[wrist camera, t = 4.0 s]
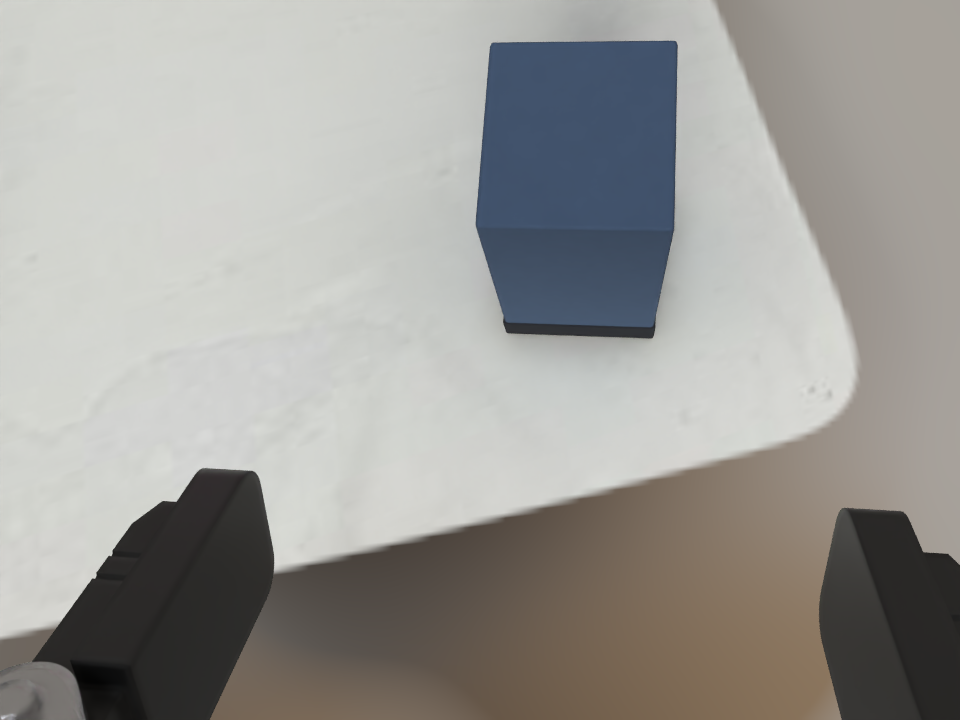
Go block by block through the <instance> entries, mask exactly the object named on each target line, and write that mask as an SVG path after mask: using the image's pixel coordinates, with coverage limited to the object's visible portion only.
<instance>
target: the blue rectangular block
mask: <svg viewBox="0 0 960 720" xmlns="http://www.w3.org/2000/svg"><path fill="white" fill-rule="evenodd" d="M677 49H678V45H677V42H676V41H608V42H510V43H492V44H491V46H490V53H489V66H488V78H487V90H486V103H485V115H484V127H483V139H482V152H481V164H480V176H479V189H478V201H477V213H476V228H477V231H478V234H479V238H480V241H481V244H482V247H483V251H484V254H485V257H486V260H487V264H488V267H489V270H490V273H491V276H492V280H493V283H494V286H495V289H496V293H497V296H498V299H499V302H500V306H501V309H502V312H503V315H504V319H503V323H504V326H505V329H506V332H507V333H517V334H546V335H574V336H603V337H632V338H653V336H654V331H655V320H656V312H657V307H658V302H659V298H660V293H661V288H662V283H663V279H664V274H665V269H666V264H667V260H668V255H669V250H670V246H671V241H672V236H673V231H674V208H675V155H676V102H677Z"/></svg>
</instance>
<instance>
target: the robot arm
mask: <svg viewBox="0 0 960 720" xmlns="http://www.w3.org/2000/svg"><path fill="white" fill-rule="evenodd" d="M273 572H274V552H273V546H272V541H271V536H270V531H269V525H268V520H267V515H266V510H265V504H264V499H263V494H262V489H261V484H260V480H259V477H258V476H257V474H256V473H255V472H253V471H243V470H226V469H209V468H203V469H201V470H199V471H198V472H197V473H196V474H195V476H194V477H193V479H192V480H191V481H190V483H189V484H188V486H187V487H186V489H185V490H184V492H183V493H182V495H181V496H180V498H179V499H178V501H177V502H169V501H162V502H161V503H159V504H158V505H157V506H155V507H154V508H153V509H151V510H150V511H149V512H147V513H146V514H145V515H143V516H142V517H141V518H139V519H138V520H136V521H135V522H134V523H132V525H131V526H130V527H129V529H128V530H127V531H126V533H125V534H124V536H123V537H122V538H121V540H120V541H119V542H118V544H117V545H116V547H115V548H114V549H113V554H112V556H108V558H107V559H106V560H105V562H104V563H103V565H102V566H101V567H100V569H99V570H98V571H97V576H96V579H92V580H91V581H90V583H89V584H88V585H87V587H86V588H85V589H84V591H83V592H82V594H81V595H80V596H79V598H78V599H77V600H76V602H75V603H74V605H73V606H72V607H71V609H70V610H69V612H68V613H67V614H66V616H65V617H64V618H63V620H62V621H61V623H60V624H59V625H58V627H57V628H56V630H55V631H54V632H53V634H52V635H51V636H50V638H49V639H48V641H47V642H46V643H45V645H44V646H43V647H42V649H41V650H40V652H39V653H38V655H37V656H36V657H35V659H34V660H33V661H32V662H29V663H24V664H19V665H16V666H13V667H9V668H7V669H4V670H2V671H0V720H210V718H211V715H212V713H213V711H214V709H215V707H216V705H217V703H218V701H219V698H220V696H221V694H222V692H223V690H224V688H225V686H226V683H227V681H228V679H229V677H230V675H231V673H232V671H233V669H234V666H235V664H236V662H237V660H238V658H239V656H240V654H241V652H242V650H243V647H244V645H245V643H246V641H247V639H248V637H249V635H250V633H251V630H252V628H253V626H254V624H255V622H256V620H257V618H258V616H259V613H260V612H261V609H262V607H263V605H264V603H265V601H266V599H267V596H268V594H269V591H270V588H271V584H272V578H273ZM819 622H820V632H821V639H822V644H823V648H824V652H825V655H826V660H827V664H828V667H829V671H830V675H831V679H832V683H833V686H834V691H835V695H836V699H837V703H838V707H839V710H840V714H841V718H842V720H960V565H959V564H958V563H957V562H956V561H955V560H954V559H953V558H952V557H951V556H949V554H939V553H924V552H923V551H922V548H921V546H920V544H919V542H918V539H917V537H916V535H915V532H914V530H913V528H912V525H911V523H910V521H909V519H908V517H907V515H906V514H904V512H901V511H886V510H870V509H854V508H842V509H841V510H840V512H839V514H838V516H837V520H836V524H835V529H834V533H833V538H832V543H831V548H830V552H829V557H828V562H827V566H826V571H825V575H824V580H823V585H822V589H821V595H820V605H819Z"/></svg>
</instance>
